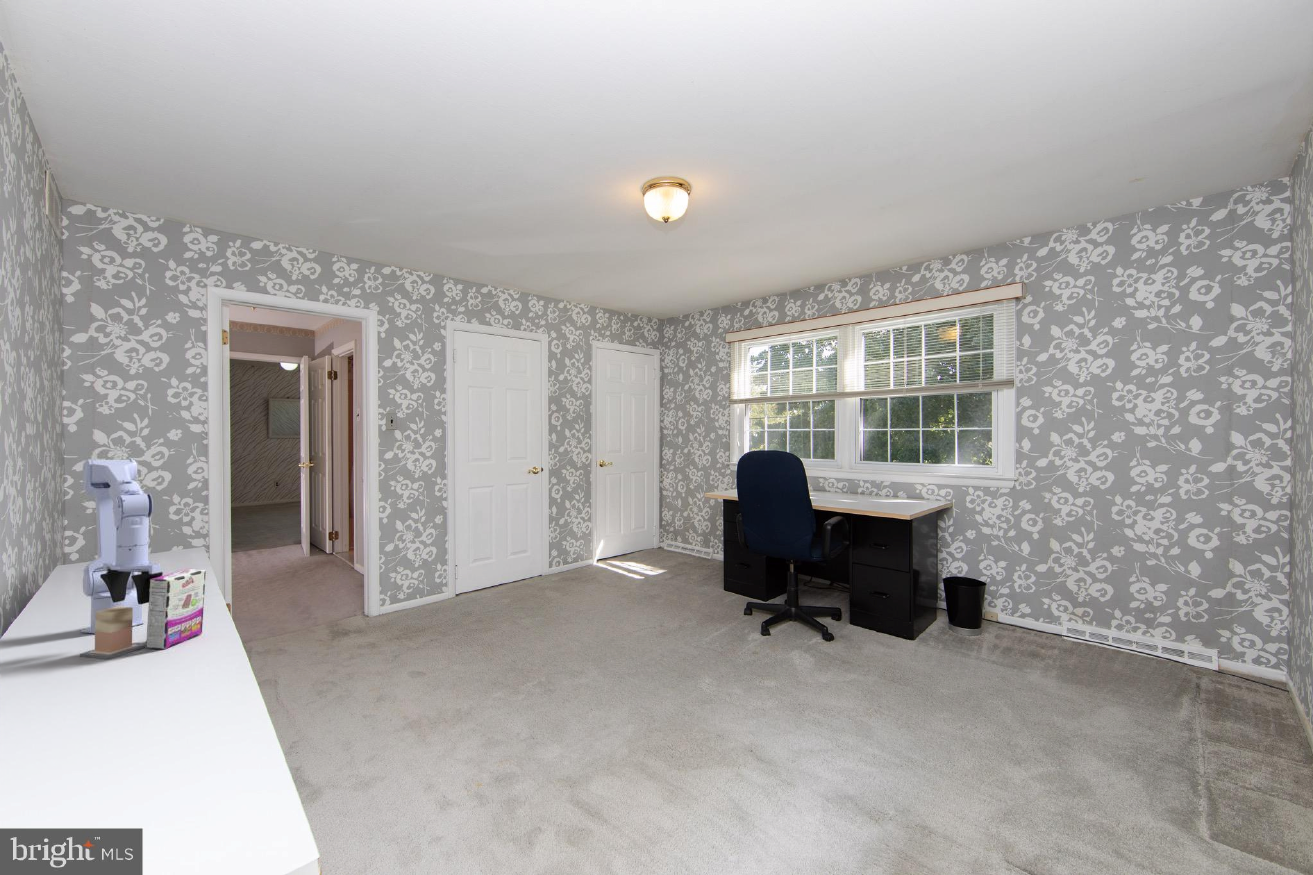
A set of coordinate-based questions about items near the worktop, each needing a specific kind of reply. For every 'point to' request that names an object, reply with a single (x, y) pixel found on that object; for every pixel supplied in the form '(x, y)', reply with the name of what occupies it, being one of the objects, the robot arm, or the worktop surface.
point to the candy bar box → (175, 608)
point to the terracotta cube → (113, 640)
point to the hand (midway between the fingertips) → (131, 602)
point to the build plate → (113, 654)
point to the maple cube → (113, 619)
